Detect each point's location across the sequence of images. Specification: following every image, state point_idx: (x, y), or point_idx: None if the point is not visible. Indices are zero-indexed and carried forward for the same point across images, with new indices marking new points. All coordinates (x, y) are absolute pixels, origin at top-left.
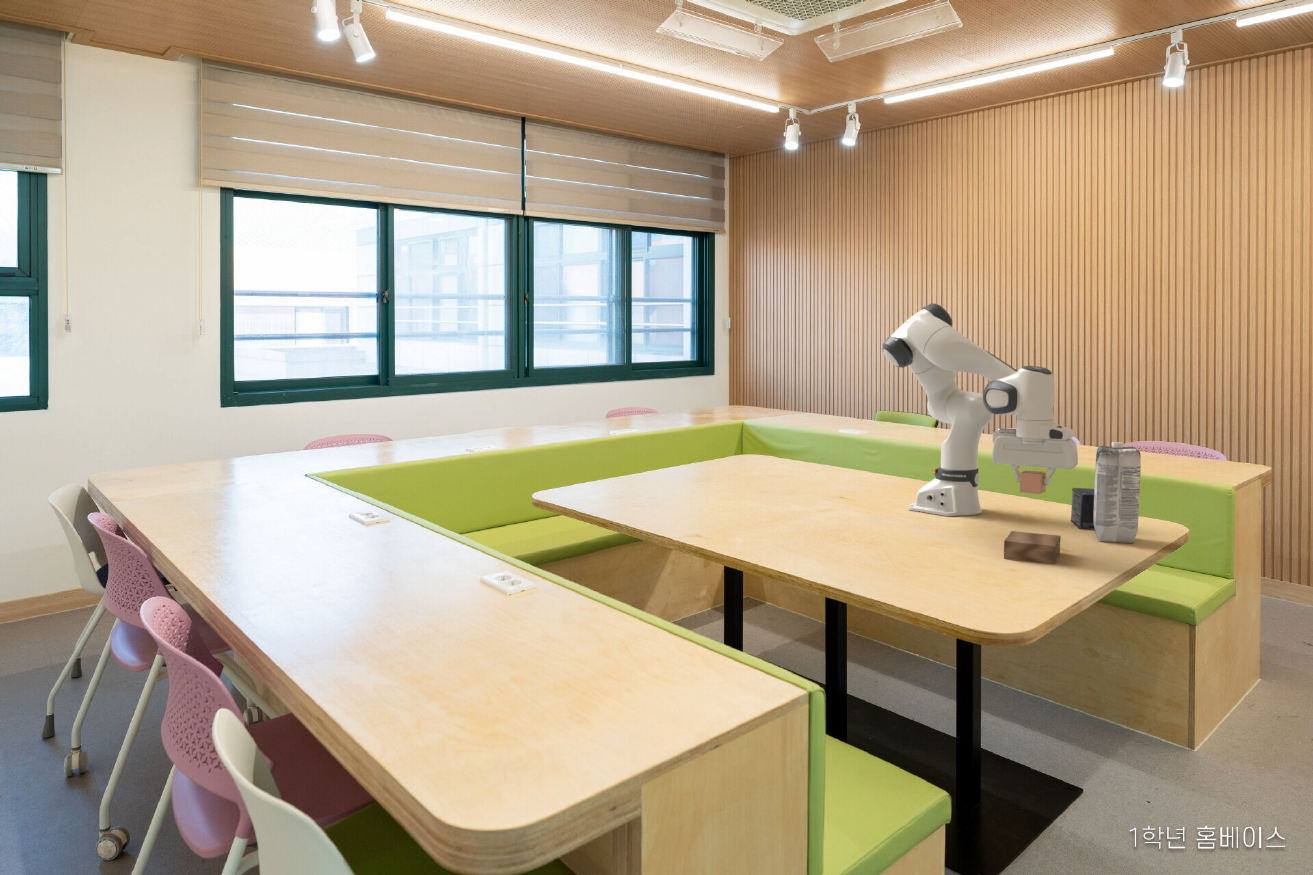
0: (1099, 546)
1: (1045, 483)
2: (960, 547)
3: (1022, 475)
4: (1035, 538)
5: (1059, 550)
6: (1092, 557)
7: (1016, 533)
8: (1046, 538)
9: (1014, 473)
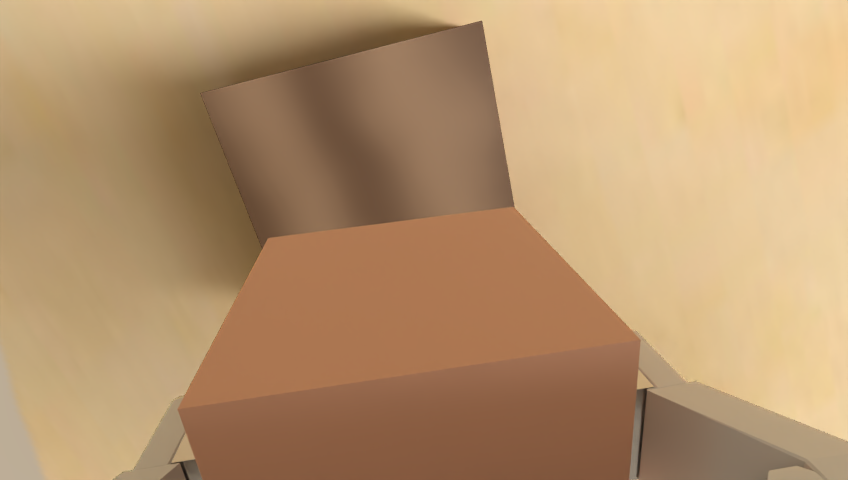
0: None
1: None
2: (693, 103)
3: (569, 318)
4: (366, 197)
5: None
6: (169, 305)
7: None
8: None
9: (744, 401)
